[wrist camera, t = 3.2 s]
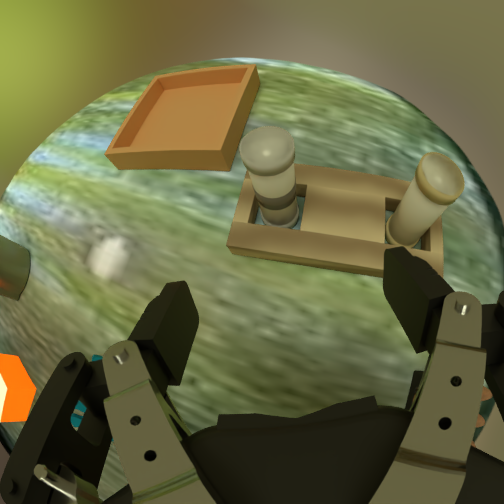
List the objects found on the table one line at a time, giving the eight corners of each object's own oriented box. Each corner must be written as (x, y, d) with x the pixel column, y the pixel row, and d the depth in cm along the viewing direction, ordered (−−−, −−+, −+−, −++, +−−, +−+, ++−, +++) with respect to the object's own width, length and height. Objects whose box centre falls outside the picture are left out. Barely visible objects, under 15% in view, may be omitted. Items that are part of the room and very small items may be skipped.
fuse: (416, 254, 24) (468, 202, 14) (383, 248, 25) (423, 190, 15) (416, 220, 25) (459, 159, 15) (384, 214, 26) (416, 147, 16)
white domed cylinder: (295, 234, 27) (289, 168, 17) (258, 229, 28) (233, 164, 18) (301, 201, 28) (297, 127, 18) (266, 197, 29) (246, 125, 19)
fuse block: (432, 285, 23) (443, 279, 20) (232, 253, 28) (226, 245, 25) (430, 199, 26) (438, 188, 23) (253, 173, 31) (249, 159, 28)
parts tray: (229, 171, 31) (220, 150, 28) (118, 169, 36) (104, 154, 32) (260, 83, 37) (255, 64, 33) (163, 91, 41) (155, 76, 37)
